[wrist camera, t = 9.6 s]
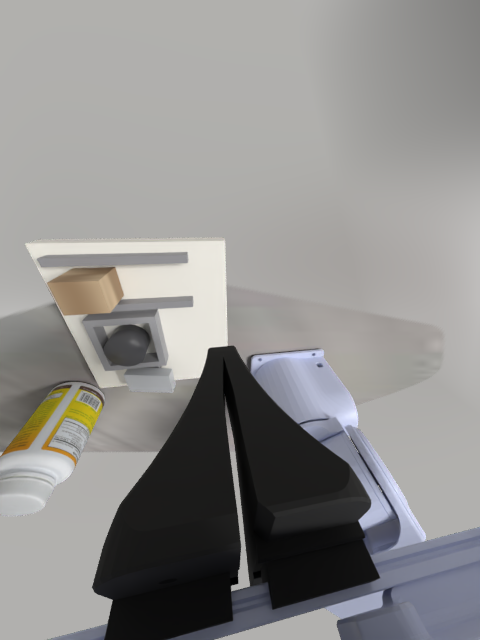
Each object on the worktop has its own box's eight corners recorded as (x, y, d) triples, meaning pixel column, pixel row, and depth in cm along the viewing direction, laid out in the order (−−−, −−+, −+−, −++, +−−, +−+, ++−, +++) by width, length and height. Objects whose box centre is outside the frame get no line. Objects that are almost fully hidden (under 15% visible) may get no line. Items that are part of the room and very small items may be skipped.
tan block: (115, 267, 16) (98, 280, 13) (124, 295, 17) (110, 312, 14) (72, 268, 15) (46, 282, 13) (85, 297, 16) (63, 315, 14)
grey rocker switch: (172, 368, 20) (168, 376, 19) (175, 384, 21) (172, 392, 21) (128, 367, 20) (123, 374, 19) (134, 383, 21) (130, 391, 21)
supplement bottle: (51, 406, 24) (-33, 522, 16) (53, 374, 22) (-44, 490, 13) (103, 412, 26) (54, 519, 18) (110, 384, 24) (58, 491, 15)
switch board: (223, 237, 17) (226, 244, 15) (227, 365, 25) (229, 383, 23) (39, 239, 15) (8, 247, 13) (105, 377, 23) (94, 399, 21)
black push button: (146, 323, 18) (140, 336, 17) (153, 350, 20) (148, 364, 18) (107, 325, 18) (98, 339, 16) (118, 353, 19) (110, 368, 18)
